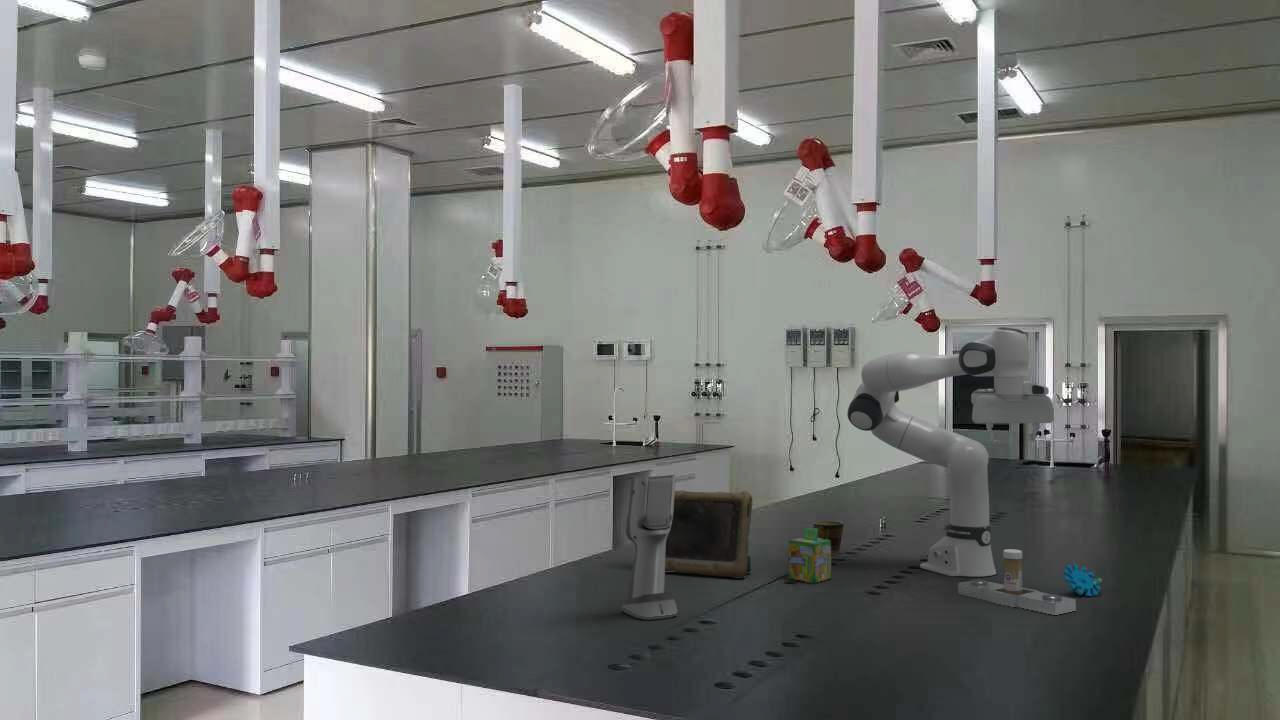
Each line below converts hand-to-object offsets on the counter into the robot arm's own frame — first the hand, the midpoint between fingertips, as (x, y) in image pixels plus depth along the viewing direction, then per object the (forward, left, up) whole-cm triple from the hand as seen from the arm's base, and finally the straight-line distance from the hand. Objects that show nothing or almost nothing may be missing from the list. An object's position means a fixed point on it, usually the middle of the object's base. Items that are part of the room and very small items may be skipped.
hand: (1013, 440), depth 259 cm
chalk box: (-48, -29, -41) cm, 70 cm away
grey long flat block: (+4, -6, -41) cm, 42 cm away
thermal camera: (-40, -89, -41) cm, 106 cm away
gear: (+8, +17, -41) cm, 45 cm away
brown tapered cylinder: (-77, +4, -41) cm, 87 cm away
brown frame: (-75, -50, -41) cm, 99 cm away
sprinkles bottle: (+4, -6, -41) cm, 42 cm away
